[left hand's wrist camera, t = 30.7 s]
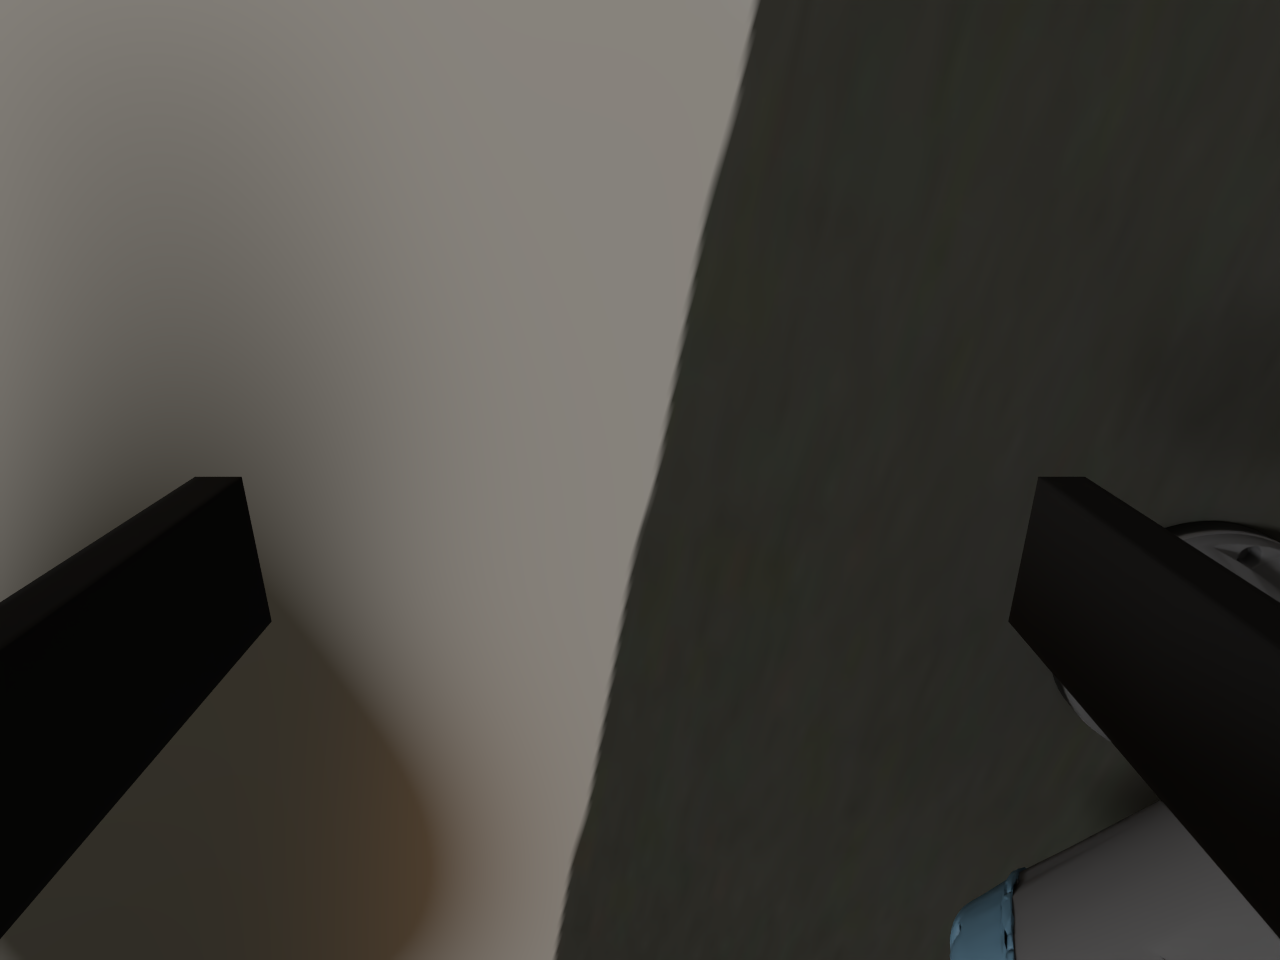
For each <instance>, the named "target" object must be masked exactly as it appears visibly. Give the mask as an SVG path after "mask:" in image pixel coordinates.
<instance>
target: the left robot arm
mask: <svg viewBox="0 0 1280 960" xmlns="http://www.w3.org/2000/svg"><path fill="white" fill-rule="evenodd" d="M270 623H271V616H270V612H269V607H268V602H267V597H266V593H265V588H264V583H263V578H262V573H261V568H260V563H259V559H258V554H257V549H256V544H255V539H254V534H253V530H252V525H251V520H250V515H249V510H248V505H247V501H246V496H245V491H244V486H243V481H242V477H194V478H193V479H191V480H189V481H188V482H186V483H185V484H183V485H182V486H180V487H179V488H177V489H176V490H174V491H172V492H171V493H169V494H168V495H166V496H165V497H163V498H162V499H160V500H159V501H157V502H155V503H154V504H152V505H151V506H149V507H148V508H146V509H144V510H143V511H141V512H140V513H138V514H137V515H135V516H134V517H132V518H130V519H129V520H127V521H126V522H124V523H123V524H121V525H120V526H118V527H117V528H115V529H113V530H112V531H110V532H109V533H107V534H106V535H104V536H103V537H101V538H99V539H98V540H96V541H95V542H93V543H92V544H90V545H89V546H87V547H85V548H84V549H82V550H81V551H79V552H78V553H76V554H75V555H73V556H71V557H70V558H68V559H67V560H65V561H64V562H62V563H61V564H59V565H58V566H56V567H54V568H53V569H51V570H50V571H48V572H47V573H45V574H44V575H42V576H40V577H39V578H37V579H36V580H34V581H33V582H31V583H30V584H28V585H27V586H25V587H23V588H22V589H20V590H19V591H17V592H16V593H14V594H13V595H11V596H9V597H8V598H6V599H5V600H3V601H2V602H0V939H1V937H2V936H3V935H4V934H5V933H6V932H7V930H8V929H9V928H10V927H11V926H12V925H13V923H14V922H15V921H16V920H17V919H18V918H19V916H20V915H21V914H22V913H23V912H24V910H25V909H26V908H27V907H28V906H29V905H30V903H31V902H32V901H33V900H34V899H35V898H36V896H37V895H38V894H39V893H40V892H41V891H42V889H43V888H44V887H45V886H46V885H47V884H48V882H49V881H50V880H51V879H52V878H53V877H54V875H55V874H56V873H57V872H58V871H59V870H60V868H61V867H62V866H63V865H64V864H65V862H66V861H67V860H68V859H69V858H70V857H71V855H72V854H73V853H74V852H75V851H76V850H77V848H78V847H79V846H80V845H81V844H82V843H83V841H84V840H85V839H86V838H87V837H88V836H89V834H90V833H91V832H92V831H93V830H94V829H95V827H96V826H97V825H98V824H99V823H100V821H101V820H102V819H103V818H104V817H105V816H106V815H107V813H108V812H109V811H110V810H111V809H112V807H113V806H114V805H115V804H116V803H117V802H118V800H119V799H120V798H121V797H122V796H123V795H124V793H125V792H126V791H127V790H128V789H129V788H130V786H131V785H132V784H133V783H134V782H135V781H136V779H137V778H138V777H139V776H140V775H141V774H142V772H143V771H144V770H145V769H146V768H147V767H148V765H149V764H150V763H151V762H152V761H153V760H154V758H155V757H156V756H157V755H158V754H159V753H160V751H161V750H162V749H163V748H164V747H165V745H166V744H167V743H168V742H169V741H170V740H171V738H172V737H173V736H174V735H175V734H176V733H177V731H178V730H179V729H180V728H181V727H182V726H183V724H184V723H185V722H186V721H187V720H188V719H189V717H190V716H191V715H192V714H193V713H194V712H195V710H196V709H197V708H198V707H199V706H200V705H201V703H202V702H203V701H204V700H205V699H206V697H207V696H208V695H209V694H210V693H211V692H212V690H213V689H214V688H215V687H216V686H217V685H218V683H219V682H220V681H221V680H222V679H223V678H224V676H225V675H226V674H227V673H228V672H229V671H230V669H231V668H232V667H233V666H234V665H235V664H236V662H237V661H238V660H239V659H240V658H241V657H242V655H243V654H244V653H245V652H246V651H247V650H248V648H249V647H250V646H251V645H252V644H253V642H254V641H255V640H256V639H257V638H258V637H259V635H260V634H261V633H262V632H263V631H264V630H265V628H266V627H267V626H268V625H269V624H270ZM1009 623H1010V624H1011V625H1012V626H1013V627H1014V628H1015V630H1016V631H1017V632H1018V633H1019V634H1020V635H1021V637H1022V638H1023V639H1024V640H1025V641H1026V643H1027V644H1028V645H1029V646H1030V647H1031V648H1032V650H1033V651H1034V652H1035V653H1036V654H1037V655H1038V657H1039V658H1040V659H1041V660H1042V661H1043V662H1044V664H1045V665H1046V666H1047V667H1048V668H1049V669H1050V671H1051V672H1052V673H1053V677H1054V680H1055V682H1056V685H1057V687H1058V689H1059V691H1060V692H1061V694H1062V696H1063V697H1064V699H1065V700H1066V701H1067V702H1068V703H1069V705H1070V706H1071V707H1072V708H1073V709H1074V711H1075V712H1076V713H1077V714H1078V715H1079V717H1080V718H1081V719H1082V720H1083V721H1084V722H1085V723H1086V724H1087V725H1088V726H1089V727H1091V728H1092V729H1093V730H1095V731H1096V732H1097V733H1098V734H1100V735H1101V736H1103V737H1104V738H1105V739H1107V740H1109V741H1110V742H1112V743H1113V744H1114V745H1115V747H1116V748H1117V749H1118V750H1119V751H1120V753H1121V754H1122V755H1123V756H1124V757H1125V758H1126V760H1127V761H1128V762H1129V763H1130V764H1131V765H1132V767H1133V768H1134V769H1135V770H1136V771H1137V772H1138V774H1139V775H1140V776H1141V777H1142V778H1143V779H1144V781H1145V782H1146V783H1147V784H1148V785H1149V786H1150V788H1151V789H1152V790H1153V791H1154V792H1155V793H1156V795H1157V796H1158V797H1159V798H1160V799H1161V801H1160V800H1159V801H1157V802H1155V803H1154V804H1152V805H1150V806H1148V807H1146V808H1144V809H1142V810H1140V811H1138V812H1136V813H1134V814H1132V815H1131V816H1129V817H1127V818H1125V819H1123V820H1121V821H1119V822H1117V823H1115V824H1113V825H1111V826H1109V827H1108V828H1106V829H1104V830H1102V831H1100V832H1098V833H1096V834H1094V835H1092V836H1090V837H1088V838H1087V839H1085V840H1083V841H1081V842H1079V843H1077V844H1075V845H1073V846H1071V847H1069V848H1067V849H1065V850H1063V851H1061V852H1059V853H1057V854H1055V855H1053V856H1051V857H1049V858H1047V859H1045V860H1043V861H1041V862H1039V863H1037V864H1035V865H1033V866H1031V867H1029V868H1027V869H1026V868H1025V867H1023V868H1020V869H1017V870H1015V871H1013V872H1012V873H1011V874H1010V875H1009V877H1008V878H1007V880H1005V881H1004V882H1002V883H1001V884H999V885H997V886H996V887H994V888H993V889H991V890H989V891H988V892H986V893H985V894H983V895H981V896H980V897H978V898H976V899H974V900H973V901H971V902H969V903H968V904H967V905H965V906H964V907H963V908H962V909H961V910H960V912H959V913H958V914H957V916H956V918H955V920H954V923H953V926H952V931H951V935H950V949H951V953H950V960H1280V543H1279V542H1277V541H1276V540H1274V539H1272V538H1270V537H1268V536H1267V535H1265V534H1263V533H1261V532H1259V531H1256V530H1254V529H1251V528H1249V527H1245V526H1241V525H1237V524H1232V523H1225V522H1195V523H1186V524H1181V525H1176V526H1172V527H1168V528H1163V527H1162V526H1160V525H1159V524H1157V523H1156V522H1154V521H1153V520H1151V519H1150V518H1148V517H1146V516H1145V515H1143V514H1142V513H1140V512H1139V511H1137V510H1136V509H1134V508H1132V507H1131V506H1129V505H1128V504H1126V503H1125V502H1123V501H1122V500H1120V499H1118V498H1117V497H1115V496H1114V495H1112V494H1111V493H1109V492H1108V491H1106V490H1105V489H1103V488H1101V487H1100V486H1098V485H1097V484H1095V483H1094V482H1092V481H1091V480H1089V479H1087V478H1086V477H1038V481H1037V486H1036V491H1035V496H1034V501H1033V505H1032V510H1031V515H1030V520H1029V525H1028V530H1027V534H1026V539H1025V544H1024V549H1023V554H1022V559H1021V563H1020V568H1019V573H1018V578H1017V583H1016V587H1015V592H1014V597H1013V602H1012V607H1011V612H1010V616H1009Z"/></svg>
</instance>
